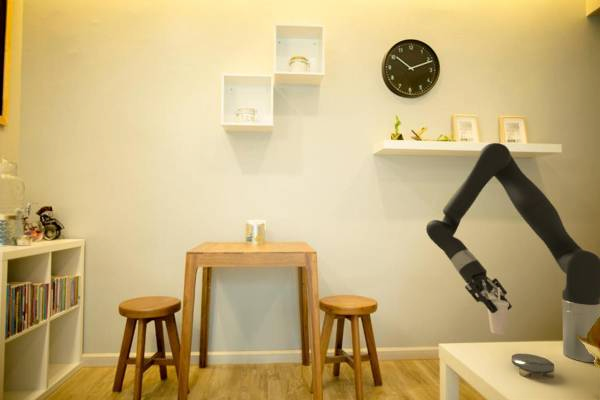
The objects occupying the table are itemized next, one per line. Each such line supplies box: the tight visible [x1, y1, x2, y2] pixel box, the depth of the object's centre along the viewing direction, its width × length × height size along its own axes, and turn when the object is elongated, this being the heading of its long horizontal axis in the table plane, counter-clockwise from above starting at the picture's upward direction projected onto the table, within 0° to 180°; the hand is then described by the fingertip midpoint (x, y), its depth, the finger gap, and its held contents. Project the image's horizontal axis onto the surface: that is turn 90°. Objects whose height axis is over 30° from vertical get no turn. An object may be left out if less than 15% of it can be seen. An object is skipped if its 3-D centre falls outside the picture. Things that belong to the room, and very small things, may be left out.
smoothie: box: [487, 287, 510, 336], centre depth 111 cm, size 6×6×14 cm
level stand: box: [511, 353, 555, 379], centre depth 99 cm, size 10×10×3 cm
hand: (502, 310), depth 109 cm, fingers closed on smoothie, 6 cm apart
